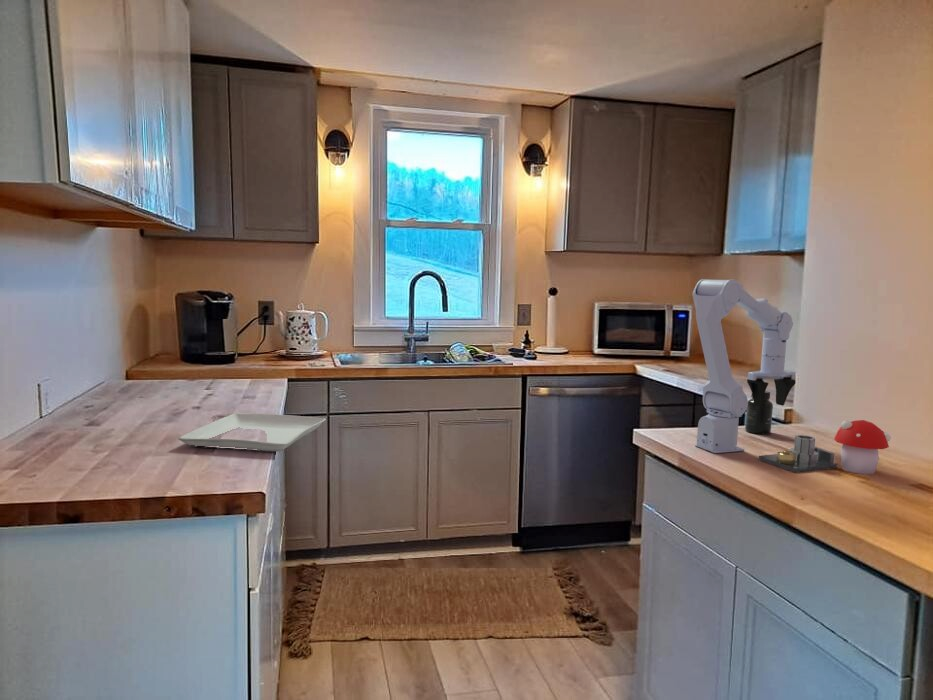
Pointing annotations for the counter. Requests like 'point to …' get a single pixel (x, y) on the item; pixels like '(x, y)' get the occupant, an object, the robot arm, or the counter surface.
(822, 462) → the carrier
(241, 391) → the counter surface
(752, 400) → the supplement bottle
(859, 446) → the mushroom
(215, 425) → the square plate
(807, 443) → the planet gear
